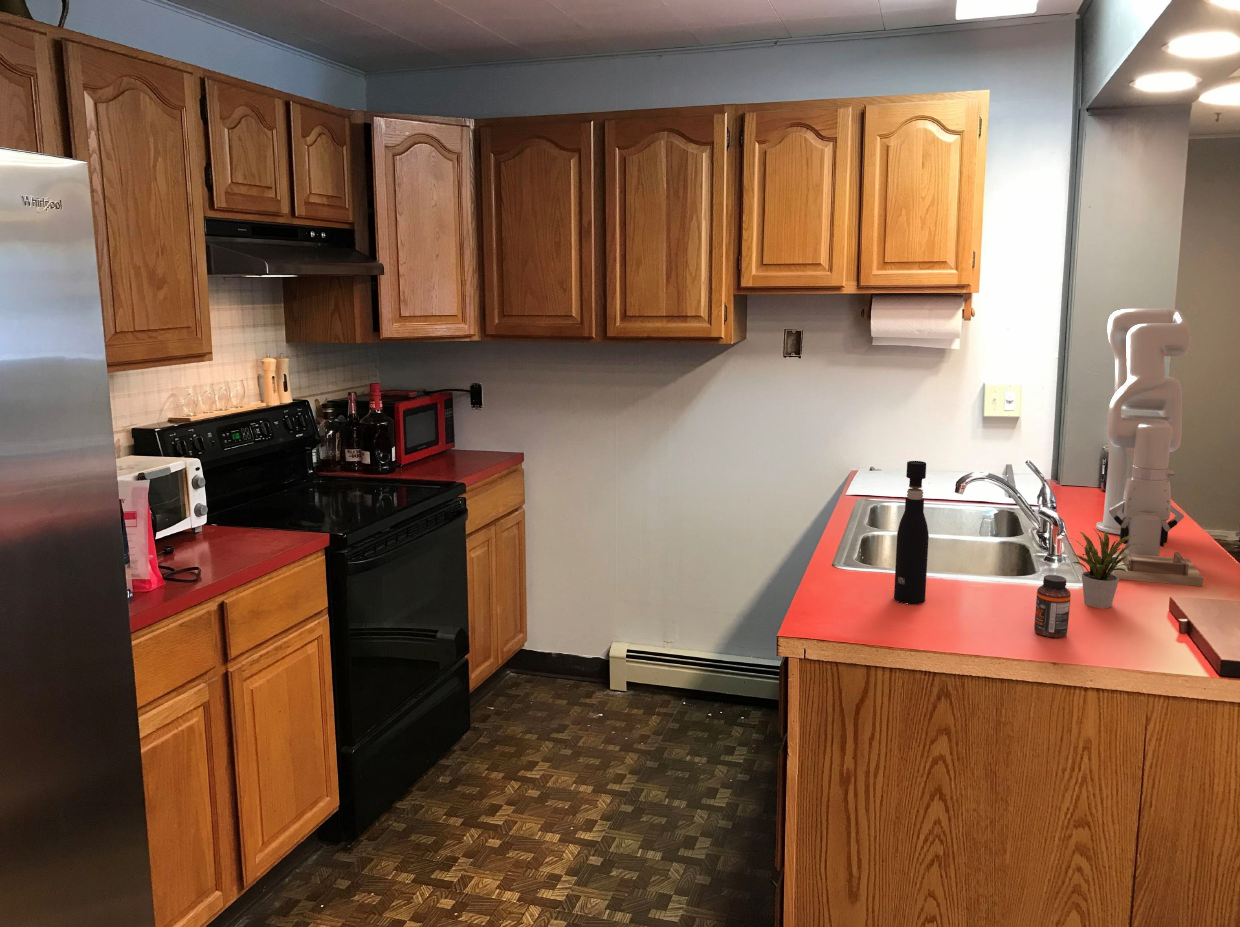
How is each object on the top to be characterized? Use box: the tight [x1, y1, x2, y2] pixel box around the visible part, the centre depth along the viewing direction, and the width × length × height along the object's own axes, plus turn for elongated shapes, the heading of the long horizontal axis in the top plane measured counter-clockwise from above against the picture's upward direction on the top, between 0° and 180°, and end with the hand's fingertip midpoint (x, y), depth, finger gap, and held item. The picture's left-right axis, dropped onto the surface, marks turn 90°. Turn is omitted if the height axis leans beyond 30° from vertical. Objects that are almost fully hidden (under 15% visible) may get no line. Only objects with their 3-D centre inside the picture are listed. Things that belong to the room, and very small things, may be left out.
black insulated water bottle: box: [893, 460, 930, 605], centre depth 205 cm, size 6×6×30 cm
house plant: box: [1068, 527, 1142, 609], centre depth 203 cm, size 14×14×16 cm
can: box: [1124, 512, 1162, 556], centre depth 239 cm, size 8×8×12 cm
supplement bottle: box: [1033, 574, 1071, 639], centre depth 187 cm, size 6×6×11 cm
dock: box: [1108, 547, 1204, 587], centre depth 226 cm, size 16×18×4 cm
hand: (1142, 543), depth 239 cm, fingers closed on can, 7 cm apart
